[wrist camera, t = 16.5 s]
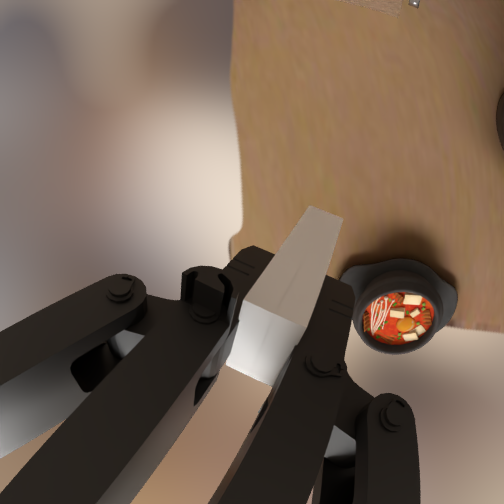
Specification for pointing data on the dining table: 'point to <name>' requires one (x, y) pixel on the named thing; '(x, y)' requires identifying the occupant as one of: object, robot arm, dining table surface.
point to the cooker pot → (383, 5)
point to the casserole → (399, 304)
